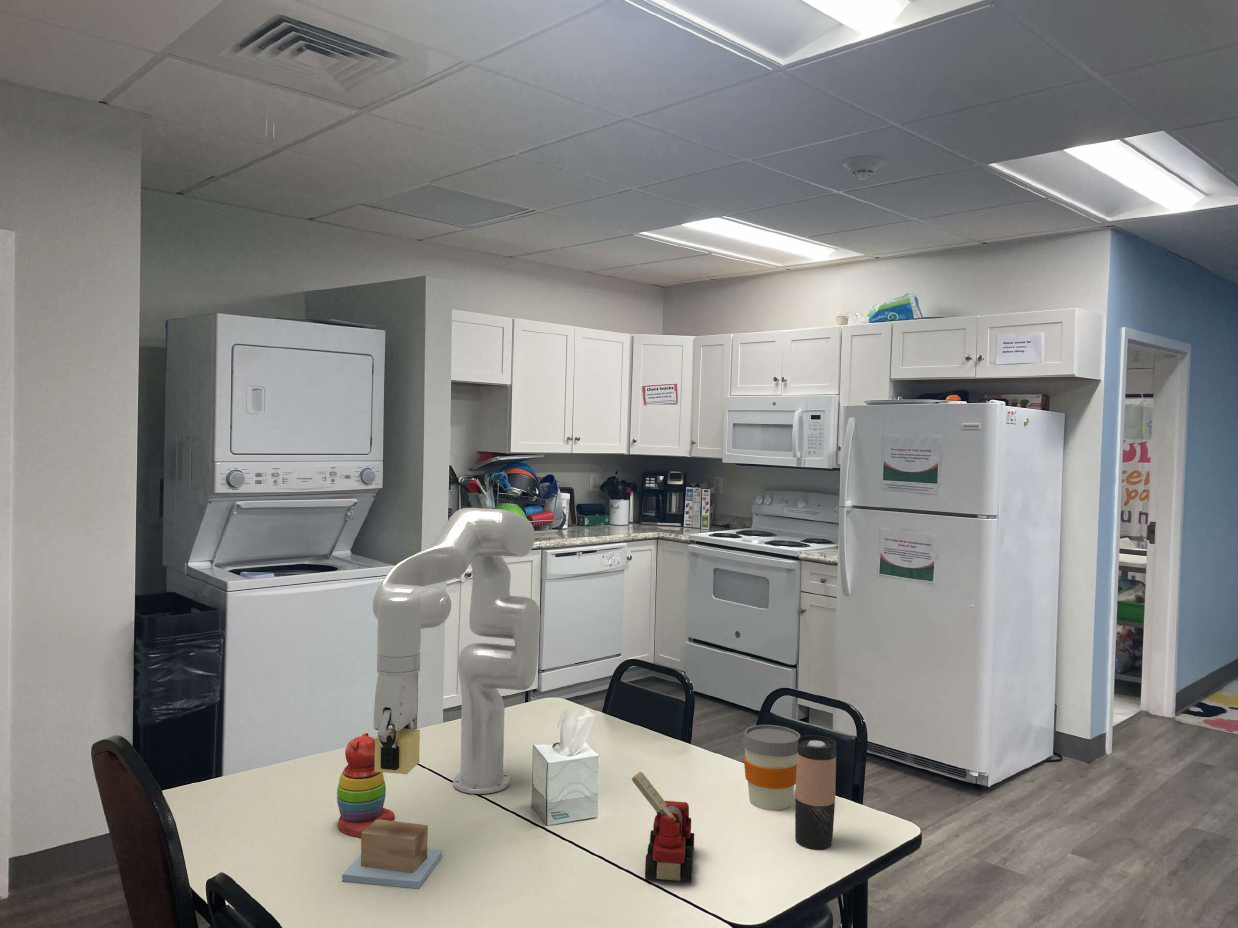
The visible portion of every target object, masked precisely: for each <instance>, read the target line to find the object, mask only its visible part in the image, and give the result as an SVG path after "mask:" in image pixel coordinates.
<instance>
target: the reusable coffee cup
mask: <svg viewBox="0 0 1238 928" xmlns="http://www.w3.org/2000/svg"><path fill="white" fill-rule="evenodd" d="M800 737H801V734H800V733H799V732H798V731H796V730H795V729H792V728H790V727H786V726H780V725H774V724H773V725H772V724H758V725H752V726H749V727H747V728H745V730H744V734H743V739H742V740H743V741H742V746H743V748H744V756H743V764H744V766H743V767H744V774H745V775H744V776H745V777H744V778H745V779H746V781H747V787H748V797H749V803H750V804H751V805H752V806H753V807H756V808H759V809H761V810H767V811H783V810H786V809H789V808H790V807H791V806H792V803H793V802H792V801H793V793H794V788H795V786H796V768H797V744H798V738H800Z"/></svg>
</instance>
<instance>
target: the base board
mask: <svg viewBox="0 0 1238 928" xmlns="http://www.w3.org/2000/svg"><path fill="white" fill-rule="evenodd" d="M443 851H444V850H443V849H441V850H440V849H433V848H432V849H430V848H427V859H426V860H425V861H424V862H423V863H422V864H421V865H420V866H419V867H418V868H417V870H416V871H415V872H414V873H407V872H400V871H392V870H385V869H377V868H370V867H362V866H361V854H360V855H359V856H358V857H357V858H356V859H355V860H354V861H353V862H352V864H350V866H349V867H348V868H347V869H346V870H345V871H344V872H343V873H342V875H341V876H342V877H341V878H342V879H341V881H342V882H347V883H355V884H356V883H359V884H366V885H367V884H368V885H379V886H385V887H387V886H388V887H396V888H397V887H398V888H408V889H415V890H416V889H418V890H419V889H420V888H421V887H422V885H424V883H425V881H426V880H427V879H428V877H429V876H430V874H431V873H432V872H433V871H434V869H435V868H436V866H437V865H439V863H440V861H441V859H442V858H443Z"/></svg>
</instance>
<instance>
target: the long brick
mask: <svg viewBox="0 0 1238 928" xmlns="http://www.w3.org/2000/svg"><path fill="white" fill-rule="evenodd" d="M428 827H429V825H428V824H427V825H426V824H422V823H421V824H419V823H410V822H404V821H396V820H393V821H388V820H380V819H377V820H376V821H375V822H373V823H372V824H371V825H370V826H369V827H368V828H367V829H365V830H364V831H363V832H362V833H361V837H360V855H361V866H362V867H370V868H377V869H385V870H392V871H400V872H407V873H414V872H415V871H416V870H417V868H418V867H419V866H420V865H421V864H422V863H423V862H424V861H425V860H426V859H427V849H428V838H429V835H428V833H429V832H428V831H429V828H428Z"/></svg>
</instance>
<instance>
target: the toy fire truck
mask: <svg viewBox="0 0 1238 928" xmlns="http://www.w3.org/2000/svg"><path fill="white" fill-rule="evenodd" d="M631 781H632V783H633V784H634V786H636V788H637V789H638V790H639V791H640V793H641V794H642V795H643V796H644V798H645V799H646V801H647V802H648V804H650V806H651V807H652V808H653V809H654V811H655V812H656V815H654V816H655V817H654V821H653V826H652V828H653V829H651V830H650V835H649V843H648V846H647V850H646V851H647V854H646V855H645V861H644V862H645V863H644V879H646V880H647V879H648V880H649V879H650V880H665V881H666V880H667V881H679V882H689V883H690V882H692V881H693V869H694V856H695V855H694V854H695V833H694V832H691V831H692V818H691V817H690V807H689V803H688V802H685V801H675V800H664V798H663V797H662V795H660V794H659V792H658V791H657V789H656V788H655V787H654V785H653V784H652V783H651V782H650V780H649V779H648V778H647V776H646V775H645V774H644V773H643V772H642V771H639V772H638V773H636V774H635V775H633V776H632V778H631Z"/></svg>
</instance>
